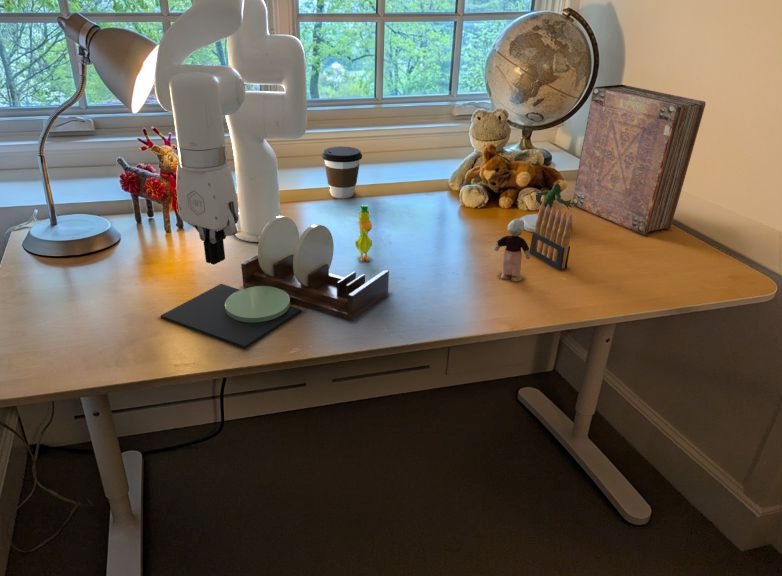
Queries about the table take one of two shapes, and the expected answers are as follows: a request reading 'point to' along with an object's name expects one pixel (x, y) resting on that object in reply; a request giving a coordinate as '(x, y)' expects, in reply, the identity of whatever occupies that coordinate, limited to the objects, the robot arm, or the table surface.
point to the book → (636, 156)
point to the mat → (223, 318)
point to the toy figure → (364, 233)
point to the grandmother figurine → (513, 250)
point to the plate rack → (321, 288)
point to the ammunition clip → (552, 237)
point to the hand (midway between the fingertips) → (215, 261)
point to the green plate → (257, 304)
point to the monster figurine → (550, 197)
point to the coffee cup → (342, 170)
